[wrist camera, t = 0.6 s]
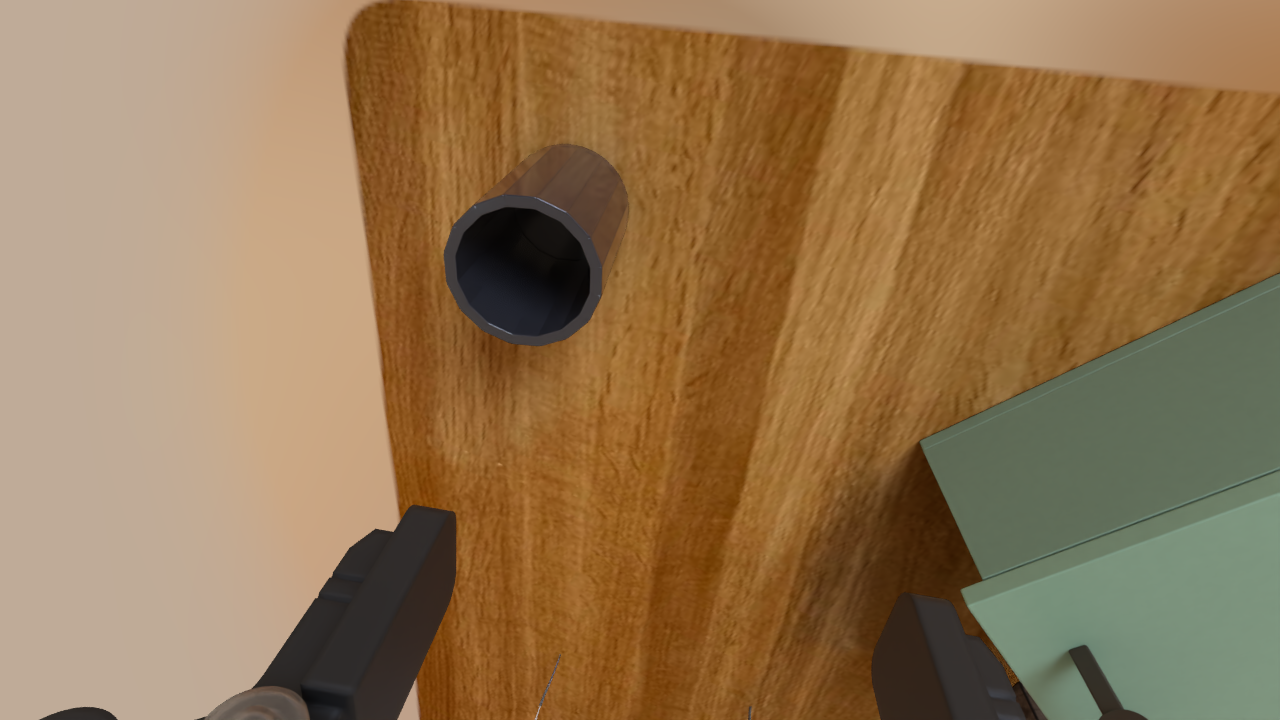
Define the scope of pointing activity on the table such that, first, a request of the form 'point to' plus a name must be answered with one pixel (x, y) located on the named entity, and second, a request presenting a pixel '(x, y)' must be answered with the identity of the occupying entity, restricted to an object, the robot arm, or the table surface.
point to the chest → (1119, 436)
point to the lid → (1151, 616)
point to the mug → (1027, 703)
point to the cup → (539, 246)
